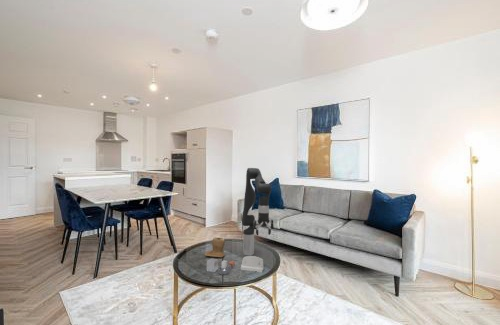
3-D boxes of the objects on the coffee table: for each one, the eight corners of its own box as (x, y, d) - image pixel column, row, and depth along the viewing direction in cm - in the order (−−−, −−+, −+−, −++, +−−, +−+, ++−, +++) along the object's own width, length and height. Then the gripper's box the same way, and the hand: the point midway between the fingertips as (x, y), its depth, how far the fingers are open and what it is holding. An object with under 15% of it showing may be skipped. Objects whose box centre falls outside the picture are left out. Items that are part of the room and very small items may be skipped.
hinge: (240, 269, 172) (241, 254, 176) (241, 269, 176) (243, 255, 180) (262, 272, 168) (263, 257, 171) (263, 272, 172) (265, 257, 176)
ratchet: (226, 275, 161) (227, 263, 162) (217, 274, 164) (217, 262, 164) (236, 265, 179) (237, 254, 180) (228, 264, 182) (228, 253, 182)
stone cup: (226, 254, 204) (227, 236, 205) (222, 259, 192) (222, 240, 193) (210, 252, 207) (210, 235, 208) (204, 257, 195) (205, 239, 196)
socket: (214, 272, 166) (214, 262, 167) (206, 271, 168) (206, 261, 169) (218, 269, 172) (218, 259, 172) (210, 268, 174) (210, 258, 174)
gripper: (271, 210, 174) (271, 233, 173) (252, 211, 171) (252, 233, 170) (274, 212, 167) (274, 235, 166) (255, 212, 164) (254, 236, 163)
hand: (263, 234), depth 168 cm, fingers open, 8 cm apart
